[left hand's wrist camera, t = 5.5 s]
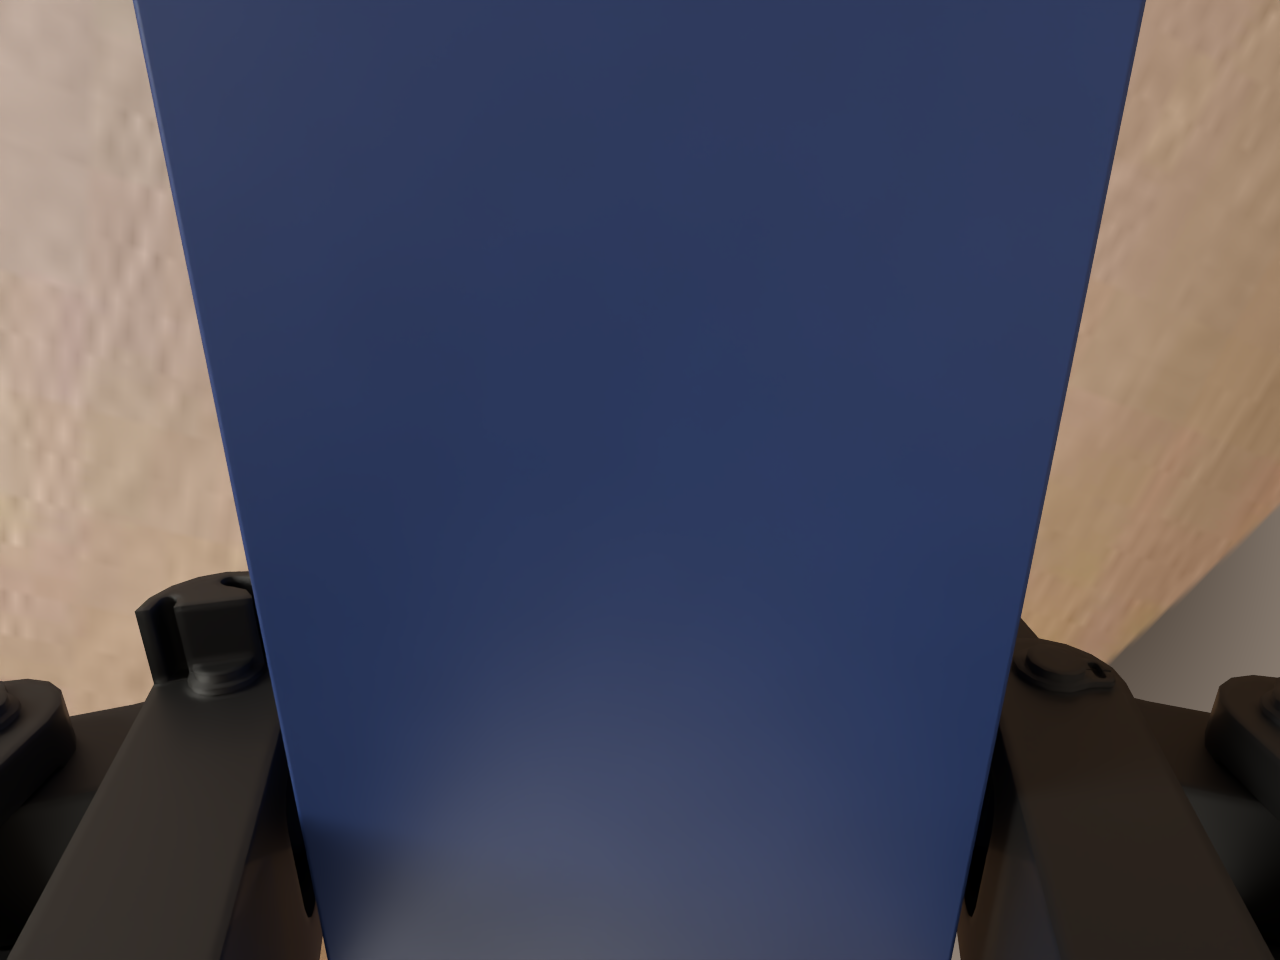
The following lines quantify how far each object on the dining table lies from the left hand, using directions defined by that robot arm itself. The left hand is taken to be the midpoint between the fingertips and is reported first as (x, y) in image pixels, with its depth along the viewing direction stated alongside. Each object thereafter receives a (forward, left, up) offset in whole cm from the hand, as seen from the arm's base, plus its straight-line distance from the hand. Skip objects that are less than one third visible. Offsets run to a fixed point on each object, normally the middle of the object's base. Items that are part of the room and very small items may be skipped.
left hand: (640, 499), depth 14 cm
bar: (+5, +5, -1) cm, 8 cm away
